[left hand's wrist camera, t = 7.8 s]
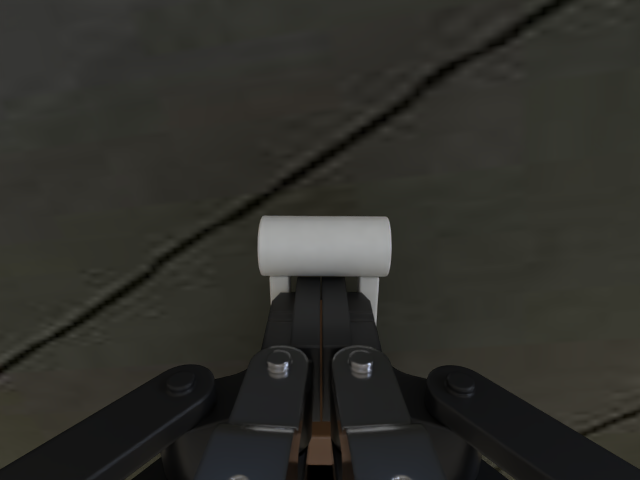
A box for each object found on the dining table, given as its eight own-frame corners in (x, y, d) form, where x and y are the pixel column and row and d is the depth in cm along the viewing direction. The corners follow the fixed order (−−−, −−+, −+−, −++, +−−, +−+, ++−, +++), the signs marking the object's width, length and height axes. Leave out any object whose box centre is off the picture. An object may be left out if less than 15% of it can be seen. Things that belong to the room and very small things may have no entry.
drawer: (273, 176, 17) (232, 247, 9) (376, 177, 17) (416, 248, 9) (287, 521, 24) (271, 709, 17) (357, 522, 24) (371, 711, 17)
